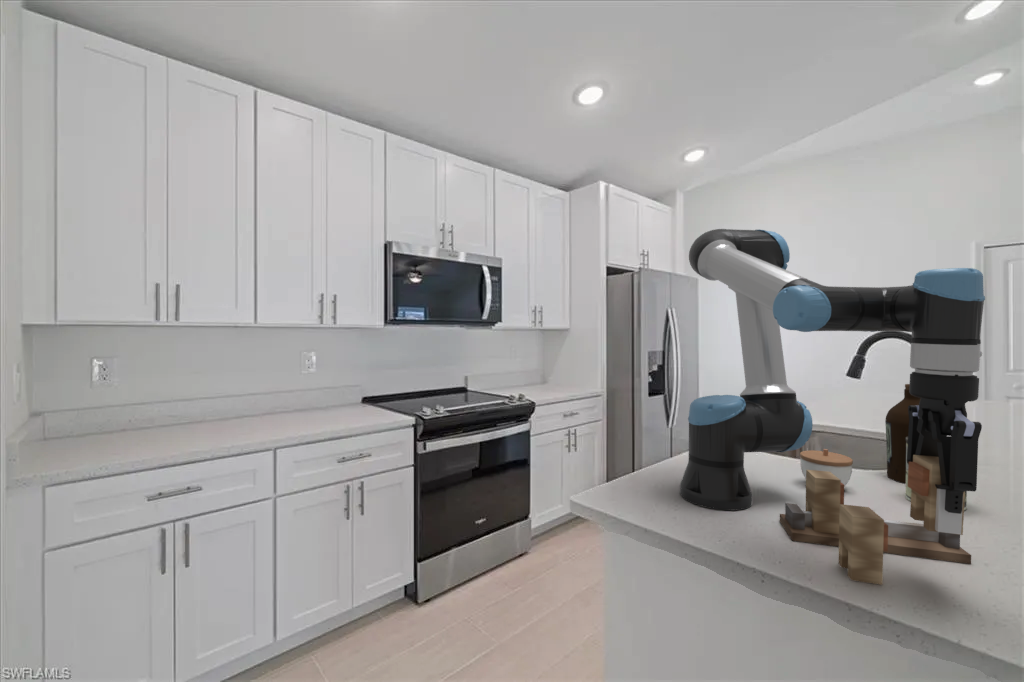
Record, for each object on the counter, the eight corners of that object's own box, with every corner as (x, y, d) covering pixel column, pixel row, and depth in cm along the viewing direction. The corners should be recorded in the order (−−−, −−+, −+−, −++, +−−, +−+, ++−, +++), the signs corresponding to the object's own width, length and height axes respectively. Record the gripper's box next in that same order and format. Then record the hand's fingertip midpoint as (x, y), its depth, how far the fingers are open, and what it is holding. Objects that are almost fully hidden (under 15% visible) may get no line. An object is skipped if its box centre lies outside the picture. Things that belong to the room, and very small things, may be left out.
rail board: (792, 540, 82) (792, 516, 82) (779, 520, 91) (779, 499, 91) (971, 564, 74) (971, 537, 74) (938, 539, 83) (939, 515, 83)
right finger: (922, 529, 67) (925, 464, 66) (903, 515, 72) (907, 454, 71) (962, 535, 65) (966, 467, 65) (941, 519, 70) (944, 457, 70)
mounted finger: (814, 531, 83) (815, 477, 83) (805, 520, 88) (806, 469, 88) (844, 535, 81) (845, 480, 81) (833, 523, 86) (834, 472, 86)
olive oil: (940, 480, 116) (942, 384, 115) (937, 490, 109) (939, 388, 108) (887, 471, 124) (889, 381, 123) (881, 479, 116) (883, 384, 116)
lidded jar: (858, 497, 104) (859, 457, 104) (804, 491, 108) (805, 452, 108) (844, 482, 114) (844, 446, 114) (795, 477, 118) (795, 442, 118)
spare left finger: (851, 580, 69) (852, 516, 69) (838, 563, 74) (839, 504, 74) (888, 585, 68) (890, 520, 68) (873, 568, 73) (874, 507, 73)
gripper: (1022, 381, 57) (1012, 557, 59) (938, 367, 75) (931, 503, 76) (949, 378, 60) (941, 547, 61) (884, 365, 77) (878, 497, 78)
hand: (935, 523), depth 68 cm, fingers closed on right finger, 5 cm apart
